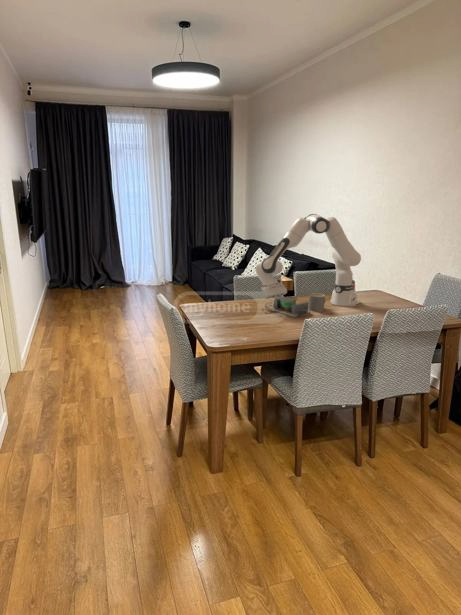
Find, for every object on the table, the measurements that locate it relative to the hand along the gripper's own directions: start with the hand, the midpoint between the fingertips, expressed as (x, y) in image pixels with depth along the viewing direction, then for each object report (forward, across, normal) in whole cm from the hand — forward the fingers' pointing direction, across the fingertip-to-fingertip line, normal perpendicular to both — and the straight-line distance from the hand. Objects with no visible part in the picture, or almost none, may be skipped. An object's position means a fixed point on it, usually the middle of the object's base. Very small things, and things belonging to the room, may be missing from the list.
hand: (280, 301), depth 293 cm
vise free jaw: (+4, 0, +1) cm, 4 cm away
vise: (+9, 0, -2) cm, 9 cm away
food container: (+10, -2, -3) cm, 10 cm away
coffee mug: (+16, +19, -9) cm, 26 cm away
